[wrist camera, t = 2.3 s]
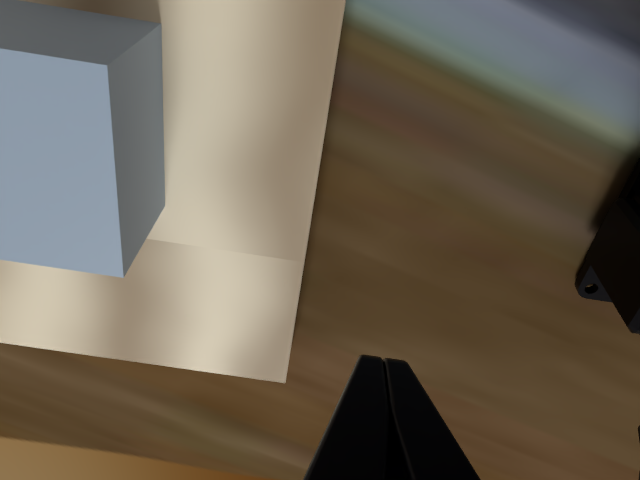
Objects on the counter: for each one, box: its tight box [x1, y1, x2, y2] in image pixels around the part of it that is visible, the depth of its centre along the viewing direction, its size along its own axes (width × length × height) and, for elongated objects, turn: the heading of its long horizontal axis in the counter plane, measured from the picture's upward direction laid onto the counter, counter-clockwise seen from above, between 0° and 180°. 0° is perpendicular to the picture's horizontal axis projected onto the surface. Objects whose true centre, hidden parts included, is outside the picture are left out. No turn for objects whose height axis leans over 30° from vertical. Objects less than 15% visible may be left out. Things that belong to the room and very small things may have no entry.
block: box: [0, 0, 165, 278], centre depth 15 cm, size 6×6×4 cm
